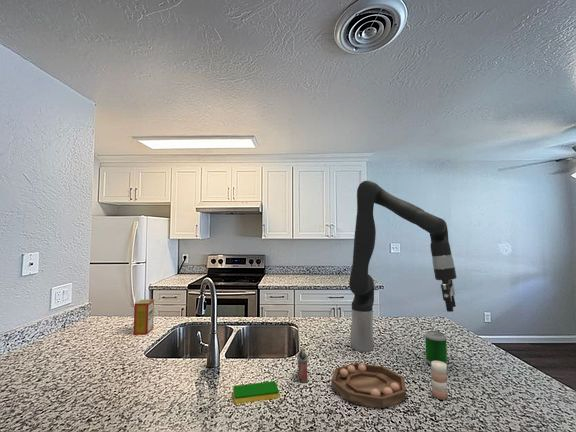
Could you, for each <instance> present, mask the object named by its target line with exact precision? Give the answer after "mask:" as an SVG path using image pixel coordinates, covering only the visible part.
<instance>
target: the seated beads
mask: <svg viewBox="0 0 576 432" xmlns="http://www.w3.org/2000/svg"><path fill="white" fill-rule="evenodd" d="M364 364H365V363H362V364H360V365H359V366H358V371H359V372H366V366H365V365H364ZM348 365H349V366H348V367H347V370H346V369H344V368H343V369H341V370H340V376H341V377H342V378H346V377H347V376H348V373H349V374H353V373H355V371H356V370H355V367H354V366H353V365H350V364H348ZM399 391H400V386H399V385H398V384H397V383H392V384H391V385H390V388H389V387H385V388H384V389H383V395H384V396H386V395H389V394H392V393H395V392H399ZM370 395H372V396H378V397H380V396H381V394H380V391H379V390H378V389H372V390H371V392H370Z"/></svg>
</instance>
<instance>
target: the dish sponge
mask: <svg viewBox="0 0 576 432" xmlns="http://www.w3.org/2000/svg"><path fill="white" fill-rule="evenodd" d="M232 393H233V402H234V404H243V403H244V404H245V403H250V402H251V403H252V402H259V401H267V400H273V399H279V398H280V390H279V388H278V385H277V383H276V381H274V380H272V381H264V382H256V383H248V384H247V383H246V384H238V385H237V384H236V385H233V387H232Z"/></svg>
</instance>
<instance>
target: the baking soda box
mask: <svg viewBox="0 0 576 432" xmlns="http://www.w3.org/2000/svg"><path fill="white" fill-rule="evenodd" d="M154 309H155V299H140V300H139V301H136V302H134V308H133V310H134V311H133V333H132V334H133V335H132V336H148V334H149V333H151V332H152V330H154V312H155V310H154Z"/></svg>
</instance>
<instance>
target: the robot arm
mask: <svg viewBox="0 0 576 432" xmlns="http://www.w3.org/2000/svg"><path fill="white" fill-rule="evenodd" d="M356 189H357V190H356V208H357V209H356V218H355V230H354V235H353V236H354V239H353V250H352V252H353V253H352V264H351V269H350V275H349V281H348V282H349V283H348V285H349V289H350V292H352V294H353V296H354V297H353V299H352V302H351V324H350V347H351V348H352V349H353V350H355V351H357V352H362V353H363V352H364V353H365V352H366V353H367V352H372V351H373V350H374V322H373V321H374V320H373V319H374V317H373V315H374V314H373V306H374V302H375V283H374V279H373V277H372V276H371V274H369V264H370V261H371V259H372V256H373V252H374V250H375V245H376V237H377V236H376V235H377V230H376V229H377V228H376V222H375V218H374V206H375V205H379V206H381V207H383V208H385V209H388V210H390V212H392V213H394V214H395V215H397V216H398V217H400V218H402V219H403V220H406V221H408V222H409V223H411V224H413V225H416V226H417V227H419V228H420V229H422V230H423V231H425V232H426V233H429V237H430V246H429V247H430V252H431V257H432V259H431V261H432V267H433V268H432V269H433V273H434V278H435V281H441V284H440V288H441V295H442V300H443V301H444V303H445V308H446V312H449V313H451V312H454V308H455V307H456V306H457V305H456V300H455V296H456V294H455V293H456V292H455V289H454V288H455V287H454V283H453V280H455V279H457V274H456V268H455V267H456V266H455V262H454V258H453V254H452V251H451V245H450V241H449V229H448V225H447V222H446V221H445V219H444V218H441V217H439V216H436V215H434V214H432V213H429V212H427V211H425V209H422V207H419V206H417V205H414V204H413V203H410V202H409V201H406V200H403V199H401V198H399V197H396V196H394V195H392V194H391V193H389V192H388V191H387V190H385V189H384V188H382V187H381V186H380V185H379V184H377V182H374V181H372V180H363V181H361V182H360V183H359V185H358V187H357V188H356Z"/></svg>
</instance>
